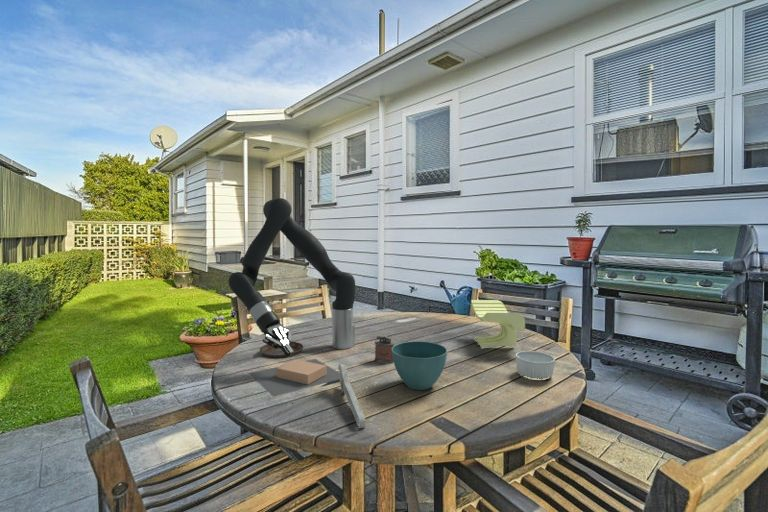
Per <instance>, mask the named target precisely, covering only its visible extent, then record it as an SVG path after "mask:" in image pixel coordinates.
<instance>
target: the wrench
mask: <svg viewBox="0 0 768 512" xmlns="http://www.w3.org/2000/svg"><path fill="white" fill-rule="evenodd" d="M338 371H339V373H340V375H341V379H340V382H339V383H340V384H339V385H340V388H341V391H340V392H341V393H343V394H345V397H346V399H347V401H348V404H349V408H350V410H351V412H352V414H353V418H354V420H355V422H356V425H357V427H358V426H359V427H358V429H364V428H365V429H366V425H367V423H366V421H367V420H366V417H365V415H364V412H363V410H362V408H361V405H360V403H359V400H358V398H357V397H356V394H355V392H354V390H353V387H352V385H351V383H350V379H349V375H348V370H347V366H346V364H345V363H343V364H338Z"/></svg>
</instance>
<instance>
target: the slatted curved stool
mask: <svg viewBox="0 0 768 512" xmlns="http://www.w3.org/2000/svg"><path fill="white" fill-rule="evenodd" d="M471 307H472V310H473V313H474V315H475V317H477V319H479V321H480V322H487V323H497V324H499V326H500V330H499V332H498V334H495V335H491V336H475V337H474V341H475V340H476V341H477V342H478V344H479V345H480V346H481V347H487V346H512V345H515V346H516V345H517V342H518V333H519V332H525V331H526V319H525V317H524V315H523V314H521V313H519V312H509V311H508V310H507V307H506V306H505V304H504V303H503V302H502V301H500V300H497V299H471ZM478 344H477V345H478Z"/></svg>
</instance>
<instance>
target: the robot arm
mask: <svg viewBox="0 0 768 512" xmlns="http://www.w3.org/2000/svg"><path fill="white" fill-rule="evenodd" d="M262 212H263V216H264V217H265V219H266V220H265V221H264V224H263V226H262V228H261V229H260V231H259V232H258V233H257V235H256V236H255V237H254V239H253V240H252V241H251V243H250V245H249V246H248V248H247V250H246V252H245V254H244V256H243V258H242V260H241V265H242V267H243V268H242V271H241V272H240V271H235V272H233V273H232V274H230V276H229V277H228V286H229V288H230V290H231V291H232V293H233V294H234V295H235V296H236V297H237V298H238V299H239V300H240V301H241V302H242V303H243V305H244V306H245V308H246V310H247V311H248V313H249V314H250V317H251V318H252V320H253V322H254V323H255V324H256V326H257V327H258V329H259V330H260V332H261V333H263V335H264V337H263V339H262V341H261V342H262V343H264V344H265V345H267V344H268V345H270V346H272V347H273V348H275V349H277V348H280V349H279V350H281V351H282V352H283V354H285V355H286V356H287V357H286V358H289V357H292V356H291V355H292V354H293V350H292V348H291V347H290V345H289V343H290V342H292V329H291V328H288V329H286V328H285V327H284V326H283V325H282V324H281V319H280V317H278V315H277V313H276V312H275V310H274V309H273V308H272V307H271V305H270V304H269V302H267V301H266V299H265V298H264V296H263V295H262V293H260V291H258V290H257V289H256V288H255V287H256V283H257V279H258V276H259V272H260V271H259V270H260V268H261V266H262V264H263V261H264V260H265V258H266V256H267V254H268V252H269V251H270V250H269V249H270V248H271V246H272V244H273V242H274V241H275V239H276V237H277V235H278V233H280V232H281V233H282V234H283V235H284V236H285V238H286V239H288V241H289V242H290V243H291V245H293V246H294V248H295V249H296V250H297V251H298V252H299V254H300V255H302V257H303V258H304V259H305V260H306V261H307V262H308V263H309V265H311V266H312V267H313V268H314V269H315V270H316V271H317V272H318V273H319V274H320V275H321V276H322V277H323V279H324V281H325V282H326V283H327V284H328V286H329V287H330V288H331V289H332V290H333V291H334V292H335V300H333V301H332V304H331V311H332V312H331V315H332V316H331V317H332V319H331V322H332V324H331V326H332V327H331V328H332V329H331V330H332V332H331V333H332V335H331V338H332V339H331V340H332V348H334V349H337V350H346V349H351V348H353V347H354V346H356V324H354V304H355V300H356V280H355V277H354V275H353V274H351V273H349V272H345V271H342V270H341V269H339V268H338V267H337V266H336V265H335V264H334V263H333V261H332V260H331V259H330V257H329V255H328V252H327V250H326V248H325V247H324V245H323V244H322V242H320V241H319V239H318V238H317V237H316V236H315V235H313V233H311V232H310V231H309V230H307V229H306V228H305V227H303V226H301V225H300V224H299V223H297V221H295V219H294V218H293V217H292V216H291V214H292V204H291V203H290V202H289V201H288V200H287V199H285V198H281V197H277V198H273V199H270V200H268V201H266V202H265V203H264V204H263V209H262ZM273 343H275V344H273Z"/></svg>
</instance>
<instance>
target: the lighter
mask: <svg viewBox="0 0 768 512" xmlns="http://www.w3.org/2000/svg"><path fill="white" fill-rule="evenodd" d="M374 345H375V347H374V348H375V349H374V352H375V353H374V357H375V358H374V361H375V362H377V363H378V362H379V363H383V362H384V364H394V361H393V357H392V348H393V347H394V346H395V343H394V342H392V338H391V337H390V336H387V335H385V336H382V335H376V341H374Z"/></svg>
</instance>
